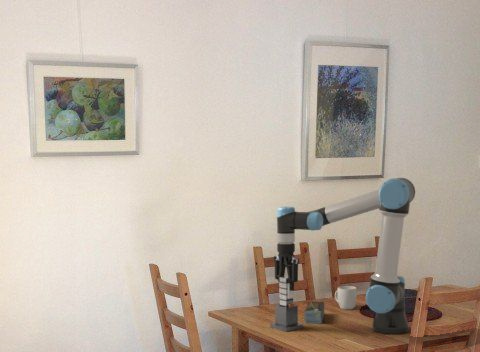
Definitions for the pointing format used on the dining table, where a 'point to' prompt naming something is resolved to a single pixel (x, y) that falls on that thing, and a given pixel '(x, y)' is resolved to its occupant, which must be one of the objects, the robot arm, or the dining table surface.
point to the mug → (346, 297)
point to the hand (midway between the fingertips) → (286, 297)
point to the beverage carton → (314, 312)
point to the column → (284, 292)
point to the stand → (286, 318)
